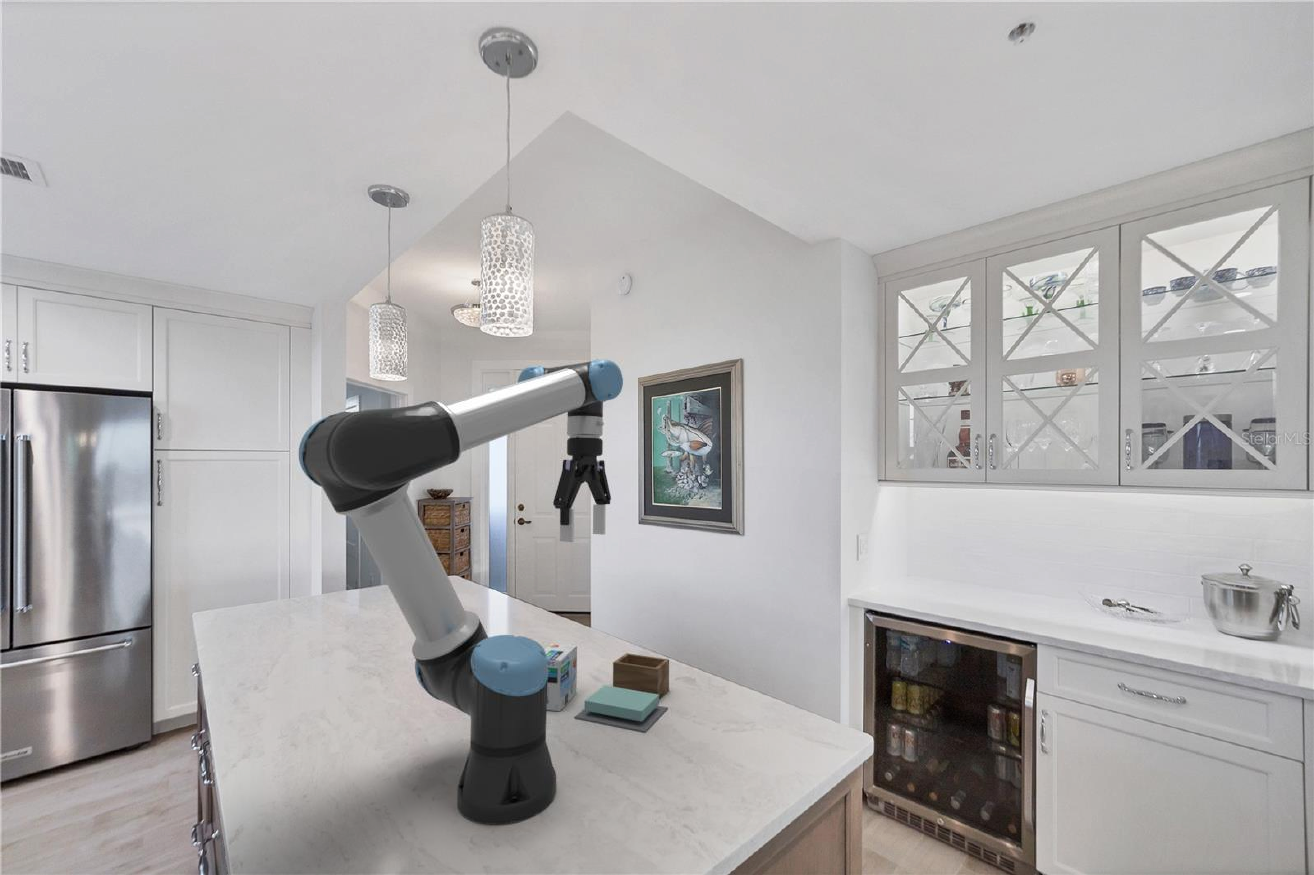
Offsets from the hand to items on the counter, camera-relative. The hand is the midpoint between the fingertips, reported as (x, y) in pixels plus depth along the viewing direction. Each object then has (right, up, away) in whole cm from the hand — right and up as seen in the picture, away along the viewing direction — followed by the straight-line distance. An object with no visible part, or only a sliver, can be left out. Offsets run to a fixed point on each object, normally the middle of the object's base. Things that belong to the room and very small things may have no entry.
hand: (583, 537), depth 122 cm
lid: (+8, -37, -1) cm, 37 cm away
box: (+12, -37, +11) cm, 41 cm away
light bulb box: (-7, -37, +5) cm, 38 cm away
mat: (+8, -37, -1) cm, 38 cm away
